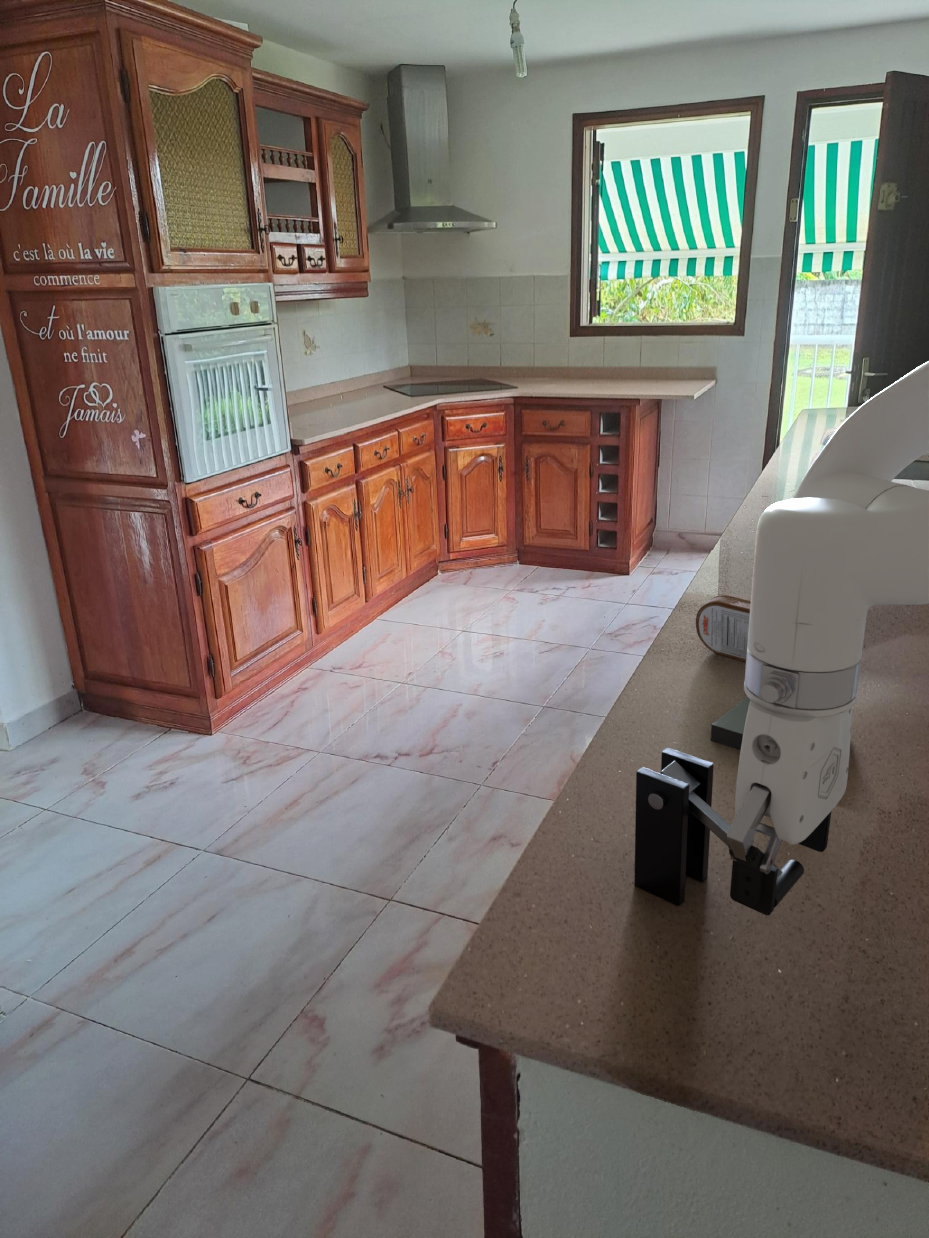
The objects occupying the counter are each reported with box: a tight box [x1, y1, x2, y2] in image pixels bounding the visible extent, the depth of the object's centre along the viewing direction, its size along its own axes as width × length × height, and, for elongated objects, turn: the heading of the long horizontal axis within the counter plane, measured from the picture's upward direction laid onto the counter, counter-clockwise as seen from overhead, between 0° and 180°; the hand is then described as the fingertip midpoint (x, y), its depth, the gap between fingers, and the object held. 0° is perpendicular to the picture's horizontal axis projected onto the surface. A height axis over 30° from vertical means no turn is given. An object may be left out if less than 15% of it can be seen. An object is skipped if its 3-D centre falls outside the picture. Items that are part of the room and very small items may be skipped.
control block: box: [710, 695, 751, 751], centre depth 100 cm, size 12×10×4 cm
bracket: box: [633, 747, 715, 907], centre depth 75 cm, size 11×9×13 cm
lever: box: [659, 761, 805, 909], centre depth 71 cm, size 13×5×2 cm, turn 48°
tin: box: [695, 594, 751, 663], centre depth 120 cm, size 15×3×8 cm, turn 45°
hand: (779, 873), depth 69 cm, fingers open, 9 cm apart
